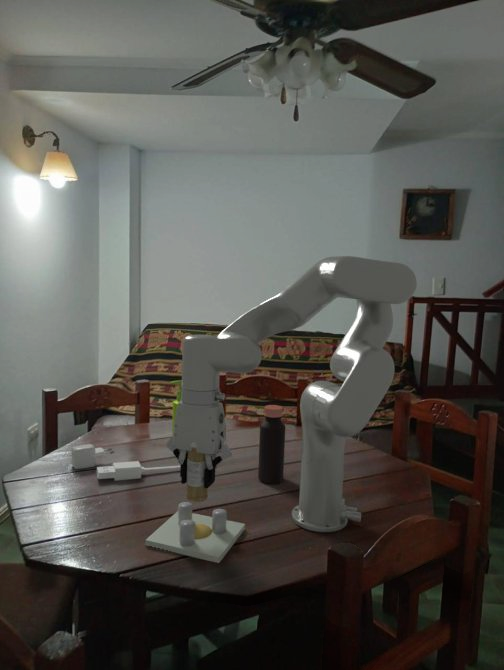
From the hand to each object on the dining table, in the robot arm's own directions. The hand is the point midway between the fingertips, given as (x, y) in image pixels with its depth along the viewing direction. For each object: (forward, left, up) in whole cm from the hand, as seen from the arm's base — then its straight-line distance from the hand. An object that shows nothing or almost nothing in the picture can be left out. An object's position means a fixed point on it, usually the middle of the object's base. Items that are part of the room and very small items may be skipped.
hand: (197, 482), depth 103 cm
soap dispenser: (+32, -53, -12) cm, 63 cm away
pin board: (0, 0, -12) cm, 12 cm away
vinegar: (-5, -35, -12) cm, 37 cm away
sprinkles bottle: (0, 0, -4) cm, 4 cm away
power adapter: (+44, -24, -12) cm, 52 cm away
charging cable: (+25, -27, -12) cm, 38 cm away
